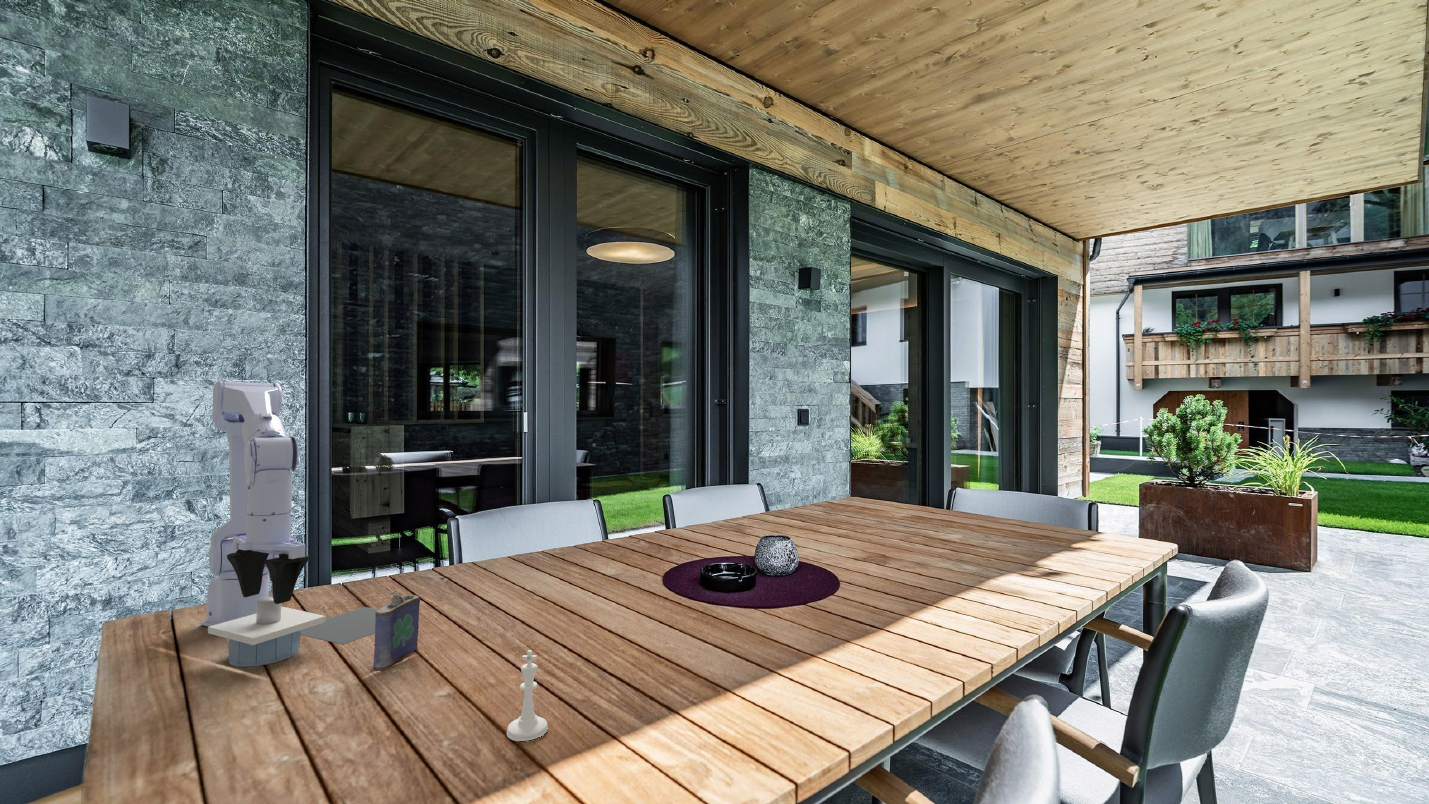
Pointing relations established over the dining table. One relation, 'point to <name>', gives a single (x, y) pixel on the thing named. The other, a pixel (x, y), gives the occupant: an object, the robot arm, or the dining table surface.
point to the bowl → (264, 650)
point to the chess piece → (528, 707)
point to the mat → (344, 626)
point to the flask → (396, 630)
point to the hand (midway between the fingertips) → (266, 598)
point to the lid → (266, 623)
